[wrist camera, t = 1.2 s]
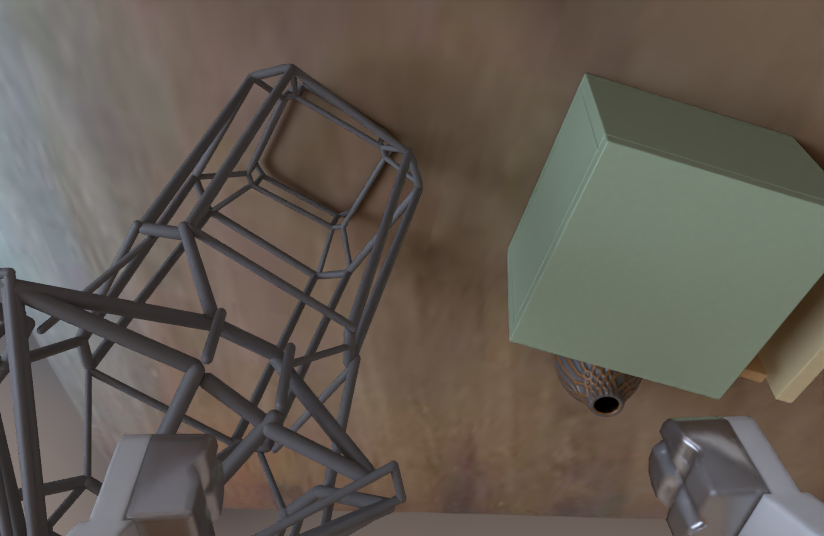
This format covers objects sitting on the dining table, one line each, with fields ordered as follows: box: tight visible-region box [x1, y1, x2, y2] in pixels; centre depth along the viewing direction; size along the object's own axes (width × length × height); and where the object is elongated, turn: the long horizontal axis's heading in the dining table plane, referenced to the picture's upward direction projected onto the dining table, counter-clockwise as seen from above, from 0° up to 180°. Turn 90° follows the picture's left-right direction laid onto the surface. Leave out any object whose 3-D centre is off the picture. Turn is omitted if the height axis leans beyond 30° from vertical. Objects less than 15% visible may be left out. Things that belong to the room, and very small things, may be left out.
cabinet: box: [508, 73, 824, 399], centre depth 42 cm, size 15×15×11 cm
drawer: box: [739, 273, 824, 403], centre depth 43 cm, size 19×14×9 cm
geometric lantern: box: [0, 64, 423, 536], centre depth 33 cm, size 16×16×35 cm
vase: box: [554, 354, 642, 417], centre depth 51 cm, size 7×7×9 cm
